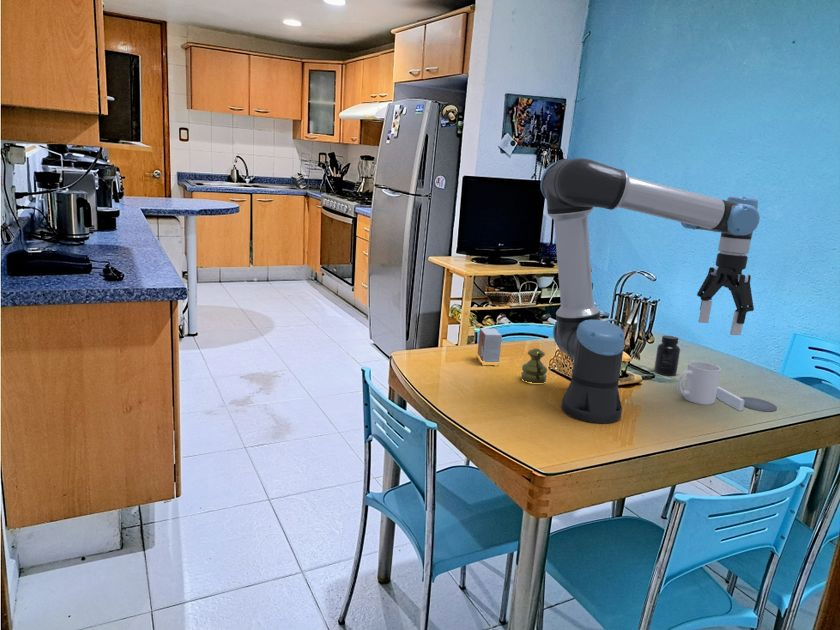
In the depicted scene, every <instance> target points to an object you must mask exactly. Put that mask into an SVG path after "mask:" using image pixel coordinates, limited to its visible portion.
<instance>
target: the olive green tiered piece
mask: <svg viewBox="0 0 840 630" xmlns="http://www.w3.org/2000/svg"><path fill="white" fill-rule="evenodd" d="M527 354H528V355H529V357H530V360H529V361H527V362H526V363H523V364H522V366H521V369H522V372H521V375H520V379H521V378H522V379H523V380H524V381H527V382H532V383H544V382H546V383H547V373H548V367H547V366H546V365H544V363H543V362H542V361H541V359H542V358H543V357H545V355H546V353H545V352H544V351H543V350H541V349H540V348H532V349H530V350H528V351H527ZM544 384H545V383H544Z"/></svg>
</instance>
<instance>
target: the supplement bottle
mask: <svg viewBox="0 0 840 630" xmlns="http://www.w3.org/2000/svg"><path fill="white" fill-rule="evenodd" d="M678 344H679V337H677V336H673V335H662V337H661V343H659V344H658V345H657V349H656V356H655V362H654V370H653V371H654V372H655V373H657V374H659V375H663V376H669V377H671V376H676V374H677V373H678V369H679V368H678V366H679V361H680V360H679V359H680V353H681V348H680V347H679V346H678Z"/></svg>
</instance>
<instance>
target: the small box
mask: <svg viewBox="0 0 840 630" xmlns="http://www.w3.org/2000/svg"><path fill="white" fill-rule="evenodd" d="M478 334H479V335H478V343H477V344H478V346H477V354H478V355H479V356H480V358H481V360H482V361H485V362H499V363H500V357H501V350H502V349H501V347H502V346H501V345H502V338H503V337H502V334H501V333H500V331H498V330H497V329H496V328H484V327H483V328H479V333H478Z"/></svg>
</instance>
